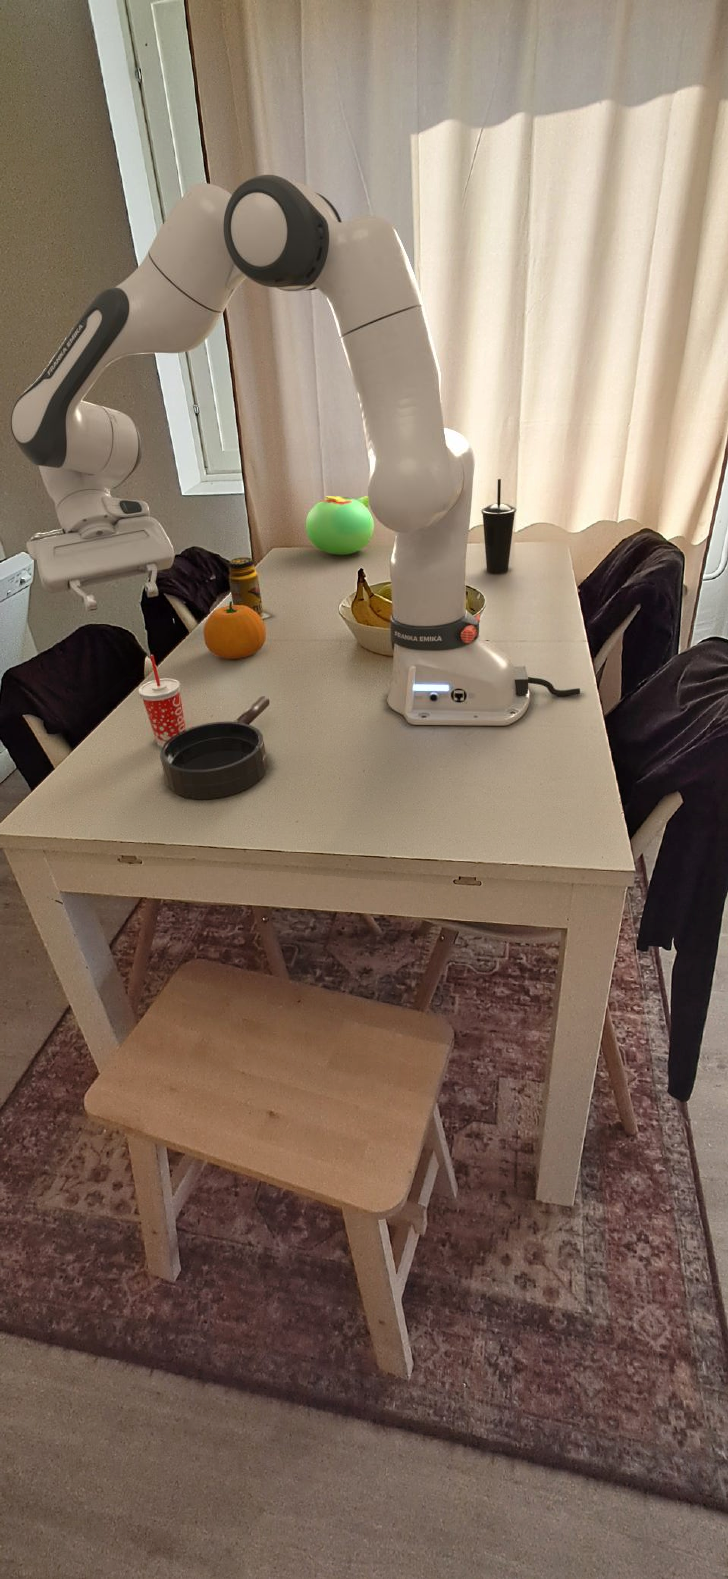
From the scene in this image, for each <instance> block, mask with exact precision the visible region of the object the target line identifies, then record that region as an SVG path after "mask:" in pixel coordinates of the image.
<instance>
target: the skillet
mask: <svg viewBox="0 0 728 1579" xmlns="http://www.w3.org/2000/svg"><path fill="white" fill-rule="evenodd" d="M230 725H231V726H240V728H239V727H237V729H238V728H239V729H241V733H236V732H233V731H232V732H231V729H230ZM185 729H186V728H185ZM234 730H235V729H234ZM238 731H239V730H238ZM238 731H237V732H238ZM266 751H267V750H266V746H265V740H264V735H263V733H262V732H261V731H260V730H259V729H258V728H256V727H255V726H253V725H251V724H249V725H248V724H245V723H241V722H233V721H215V722H207V723H201V724H199V725H195V726H192V727H189V728H187V729H186V730H184V731H182V732H180V733H178V734H176V735H175V736H173V737H171V738H170V739H169V740H168V741H167V742H166V743H165V744H164V745H163V747H161V748H160V752H159V753H160V754H159V758H160V762H161V763H160V764H161V766H162V770H163V774H164V779H165V783H166V784H167V787H168V788H169V789H170V790H171V792H174V794H176V795H179V796H182V797H186V798H189V799H190V798H191V799H197V800H198V799H199V800H201V799H203V800H205V799H207V800H208V799H209V800H210V799H215V798H223V797H227V796H230V795H234V794H237V793H240V792H242V791H244V790H246V789H249V788H251V787H252V786H253V785H255V784H256V783H257V782H259V781H260V780H261V779H262V778H263V777H264V776H265V775H266V772H267V770H268V767H269V765H268V758H267V752H266Z"/></svg>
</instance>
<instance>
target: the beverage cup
mask: <svg viewBox="0 0 728 1579" xmlns="http://www.w3.org/2000/svg"><path fill="white" fill-rule="evenodd" d="M149 657H150V662H151V665H152V670H153V673H154V674H153V675H154V678H155V679H152V680H150V681H147V682H145V683H143V684H142V685H140V686H139V688H138V694H139V697H140V699H141V700H142V701H143V702H142V703H143V705H144V707H145V711H146V713H147V714H146V715H147V717H148V720H149V724H150V727H151V729H152V733H153V735H154V738H155V741H156V744H157V746H159V747H160V748H162V747H163V745H164V744H165V743H166V742H167V741H168V740H169V739H170V738H171V737H173V736H175V735H176V734H178V733H180V732H182V731H184V730H186V722H185V717H184V709H183V704H182V698H181V690H182V687H181V683H180V681H179V680H177V679H175V678H169V677H165V678H160V677H159V674H158V670H157V665H156V660H155V656H154V654H150V655H149Z"/></svg>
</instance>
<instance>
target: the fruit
mask: <svg viewBox="0 0 728 1579" xmlns="http://www.w3.org/2000/svg"><path fill="white" fill-rule="evenodd" d="M202 631H203V632H202V633H203V640H204V644H205V647H206V648H207V649H208V650H209V651H210V653H211V654H213V655H214V656H217V657H219V658H222V659H230V660H237V659H243V658H246V657H250V656H252V655H254V654H255V653H257V652H258V651H259V650H261V649H262V647H263V646H264V644H265V642H266V639H267V629H266V625H265V624H264V621H263V619H261V617H260V616H259V615H258V614H257V613H256V612H255V611H254V610H252V609H250V608H249V607H247V606H244V605H233V601H232V600H230V601H229V605H225V606H222V607H219V608H216V609H214V610H213V611H212V612H211V614H210V615H209V617H208V618H207V619H206V621H205V623H204V626H203V629H202Z"/></svg>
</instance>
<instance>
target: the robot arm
mask: <svg viewBox="0 0 728 1579" xmlns="http://www.w3.org/2000/svg"><path fill="white" fill-rule="evenodd" d="M415 277H416V276H415V274H414V270H413V269H412V266H411V263H410V261H409V258H408V255H407V253H406V251H405V249H404V246H403V243H402V242H401V239H400V237H399V235H398V233H397V231H396V229H395V227H393V225H392V224H391V223H390V222H389V221H388V220H387V219H385V218H383V217H381V216H376V215H361V216H357V217H354V218H352V219H348V220H346V221H343V220H342V218H341V216H340V214H339V212H338V210H337V208H335V206H334V205H333V204H332V203H331V201H330V200H329V199H328V198H326V197H325V196H324V195H322V194H320V193H318V192H316V191H314V190H313V189H311V188H310V187H309V186H307V185H306V184H304V183H302V182H299V181H297V180H293V179H289V178H284V177H282V176H279V175H274V174H261V175H257V176H254V177H251V178H249V179H247V180H245V181H244V182H242V183H241V184H240V185H239V186H238V187H237V188H236V189H235V190H234V192H233V193H232V194H231V193H230V192H229V191H227V190H226V189H224V188H222V187H220V186H218V185H216V184H212V183H208V182H201V183H197V184H195V185H193V186H190V187H189V189H188V190H186V192H185V193H184V194H183V196H182V197H181V198H180V199H179V201H178V202H177V203H176V204H175V206H174V207H173V209H172V210H171V212H170V213H169V214H168V216H167V217H166V219H165V220H164V222H163V223H162V225H161V227H160V229H159V231H158V233H156V235H155V237H154V239H153V241H152V243H151V245H150V248H149V249H148V250H147V253H146V255H145V257H144V258H143V260H142V262H141V263H140V264H139V265H138V267H137V268H136V269H135V270H134V271H133V272H132V273H131V274H130V275H129V276H128V277H127V278H126V279H124V281H122V282H120V283H119V284H117V285H116V286H114V287H112V288H111V287H110V288H107V289H105V290H103V291H101V292H100V293H99V294H98V295H96V296H95V298H94V299H93V300H92V301H91V303H90V304H89V305H88V306H87V308H86V309H85V310H84V312H82V314H81V316H80V317H79V318H78V320H77V321H76V323H75V324H74V326H73V327H72V328H71V330H70V332H69V334H68V335H67V336H66V337H65V339H64V341H63V342H62V343H61V345H60V346H59V348H58V349H57V351H56V352H55V354H54V355H53V357H52V358H51V359H50V361H49V362H48V364H47V365H46V367H45V368H44V370H43V371H42V372H41V374H40V375H39V376H38V377H37V379H36V380H35V381H34V382H33V383H31V385H29V387H28V388H26V390H24V391H23V392H22V393H21V395H20V396H19V397H18V398H17V400H16V402H15V403H14V406H13V408H12V411H11V415H10V431H11V435H12V437H13V439H14V441H15V443H16V445H17V446H18V448H19V450H20V451H21V452H22V453H23V455H24V456H25V457H26V458H27V459H28V461H30V462H31V463H32V464H33V465H34V466H38V468H39V472H40V475H41V478H42V482H43V484H44V487H45V489H46V492H47V493H48V495H49V497H50V498H51V499H52V500H53V502H54V506H55V507H54V508H55V509H54V510H55V513H56V517H57V519H58V521H59V524H60V527H61V529H54V530H51V531H48V532H43V533H42V532H38V533H35V534H33V535H32V537H31V538H29V539H28V540H27V541H26V544H25V548H26V551H27V553H28V556H29V557H30V559H31V560H32V561H34V562H35V563H36V564H37V569H38V575H39V578H40V582H41V585H42V588H43V589H44V590H45V591H46V592H48V593H50V594H55V593H60V592H65V591H70V593H71V595H72V596H73V597H74V598H76V599H77V600H78V601H79V602H81V603H82V604H83V605H84V608H85V610H86V612H92V611H96V610H98V604H97V601H96V600H95V596H94V594H87V593H85V592H84V591H83V590H82V588H83V587H88V586H93V585H98V584H103V583H107V582H111V581H117V580H121V579H125V578H131V577H135V576H140V575H145V574H146V577H147V579H150V581H148V582H145V583H144V590H145V593H146V595H147V598H153V597H158V596H159V589H158V586H157V583H156V582H157V576H158V572H159V571H163V570H168V569H170V568H172V566H173V564H174V561H175V550H174V547H173V545H172V542H171V540H170V538H169V536H168V535H167V532H166V531H165V529H164V528H163V526H162V525H161V523H160V522H159V521H158V520H157V519H156V518H154V517H152V516H151V512H150V507H149V504H148V503H147V502H145V501H143V500H136V499H135V500H134V499H125V498H118V497H113V496H112V495H111V491H112V490H113V489H116V488H117V487H119V486H120V485H122V483H124V482H125V481H126V480H127V479H128V478H129V477H130V476H131V475H132V474H134V472H135V471H136V469H138V467H139V465H140V463H141V461H142V456H143V446H142V438H141V434H140V432H139V428H138V427H137V425H136V423H135V421H134V420H133V418H132V417H130V416H129V415H128V414H126V413H123V412H121V411H119V410H115V409H112V408H109V407H105V406H102V405H99V404H94V403H91V402H88V401H84V398H85V397H86V395H87V394H88V393H89V391H90V390H91V389H92V387H93V386H94V385H95V383H96V382H97V381H98V379H99V377H101V375H102V373H103V372H104V371H105V369H106V368H107V367H108V366H109V365H111V364H112V363H113V362H115V361H117V360H120V359H121V358H125V357H127V356H133V355H142V354H166V355H167V354H169V355H170V354H173V355H174V354H183V353H186V352H190V351H192V350H195V349H196V348H198V347H200V346H201V345H202V344H203V343H204V342H205V340H207V339H208V337H209V336H210V335H211V334H212V332H213V331H214V330H215V328H216V326H217V324H218V322H219V321H220V319H221V317H222V316H223V313H224V312H225V310H226V308H227V306H228V304H229V302H230V301H231V299H232V297H233V296H234V294H235V292H236V291H237V289H238V288H239V287H240V285H241V284H242V283H243V282H244V281H245V280H246V279H247V278H248V279H249V280H251V281H252V282H254V283H255V284H257V285H260V286H263V287H268V288H275V289H277V290H280V291H283V292H301V291H302V292H303V291H314V290H318V291H319V292H321V293H322V295H323V296H324V297H325V299H326V301H327V303H328V305H329V307H330V310H331V312H332V315H333V319H334V322H335V325H336V329H337V332H338V335H339V338H340V343H341V345H342V349H343V352H344V356H345V359H346V363H347V367H348V369H349V373H350V376H351V378H352V379H351V380H352V382H353V385H354V389H355V393H356V396H357V400H358V404H359V405H358V406H359V409H360V415H361V422H362V429H363V436H364V444H365V452H366V459H367V467H368V484H367V496H368V500H369V504H370V505H369V507H370V510H371V512H372V514H373V515H374V517H375V518H376V519H377V521H378V522H379V523H380V524H381V525H382V526H383V527H385V528H386V529H388V530H391V531H394V541H393V546H392V553H391V556H390V562H389V574H390V575H389V576H390V595H391V608H392V609H391V611H392V613H391V614H390V616H389V639H390V642H391V649H392V651H393V653H392V654H393V655H392V656H393V657H392V672H391V680H390V686H389V690H388V694H387V699H386V700H387V704H388V706H389V707H390V708H391V709H392V710H393V711H395V712H397V713H398V714H400V715H402V716H403V717H404V718H405V720H406V721H407V723H409V724H410V725H414V726H493V727H494V726H495V727H496V726H509V725H512V724H513V723H515V722H516V721H518V720H519V719H521V718H522V717H523V715H524V714H525V713H526V711H527V710H528V708H529V706H530V702H531V694H530V688H529V684H533V685H538V686H539V685H540V686H543V687H545V688H546V689H547V690H548V692H549V694H551V695H553V696H557V697H569V696H576V695H577V696H578V695H581V688H579V687H578V688H577V687H575V688H570V689H563V690H562V689H556V688H555V687H554V685H553V684H552V683H551V682H550V681H548V680H546V679H543V678H539V677H532V676H529V675H528V672H527V668H526V666H524V665H523V666H514V665H513V662H512V659H511V658H510V657H509V656H508V655H507V654H506V653H504V652H503V651H501V650H500V649H498V648H497V647H496V646H494V645H493V644H491V643H490V642H489V641H487V640H486V639H485V638H483V637H482V636H481V635H480V623H481V613H477V614H476V616H475V615H473V614H472V613H471V612H469V610H468V609H466V608H467V586H466V585H467V582H466V581H467V573H466V572H467V549H468V541H469V533H470V524H471V513H472V501H473V488H474V487H473V486H474V475H475V455H474V451H473V448H472V446H471V445H470V442H468V440H467V439H466V438H465V437H464V436H463V435H462V434H461V433H459V432H457V431H455V430H452V429H450V428H445V425H444V424H445V423H444V416H443V407H442V399H441V372H440V371H441V370H440V366H439V362H438V358H437V355H436V350H435V347H434V343H433V340H432V339H433V338H432V336H431V332H430V331H431V330H430V328H429V324H428V320H427V316H426V312H425V308H424V306H423V305H424V304H423V301H422V297H421V293H420V290H419V287H418V283H417V280H416V278H415Z"/></svg>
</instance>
